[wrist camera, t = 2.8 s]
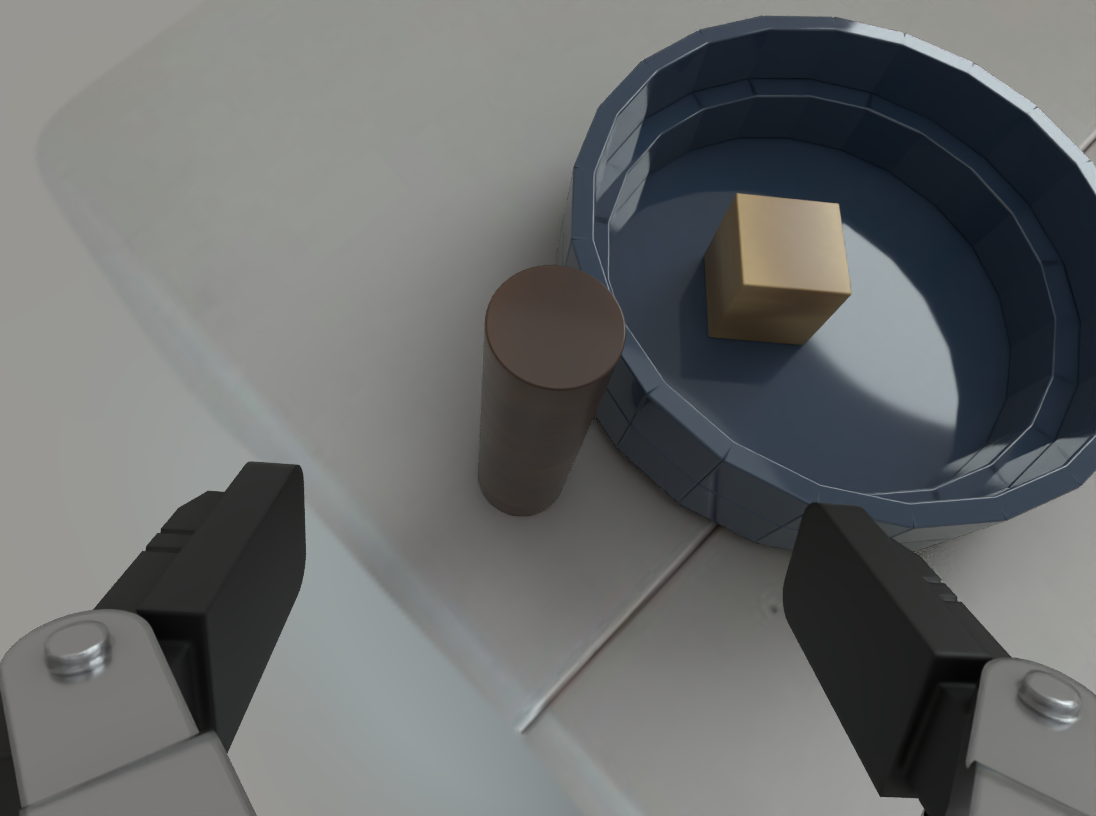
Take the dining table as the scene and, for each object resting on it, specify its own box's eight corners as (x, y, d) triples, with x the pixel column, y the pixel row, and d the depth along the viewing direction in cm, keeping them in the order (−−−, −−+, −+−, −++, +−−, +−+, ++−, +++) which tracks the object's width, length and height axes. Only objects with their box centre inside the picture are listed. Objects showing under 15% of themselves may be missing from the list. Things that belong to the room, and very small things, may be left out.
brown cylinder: (474, 513, 23) (479, 383, 13) (481, 430, 24) (489, 258, 15) (562, 519, 23) (626, 395, 14) (565, 436, 24) (626, 270, 15)
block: (708, 337, 25) (743, 284, 22) (703, 254, 27) (735, 192, 23) (804, 346, 26) (852, 294, 22) (795, 262, 27) (839, 202, 24)
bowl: (542, 545, 23) (562, 505, 18) (561, 96, 30) (579, -16, 25) (1092, 578, 24) (1240, 549, 19) (984, 143, 31) (1074, 45, 26)
